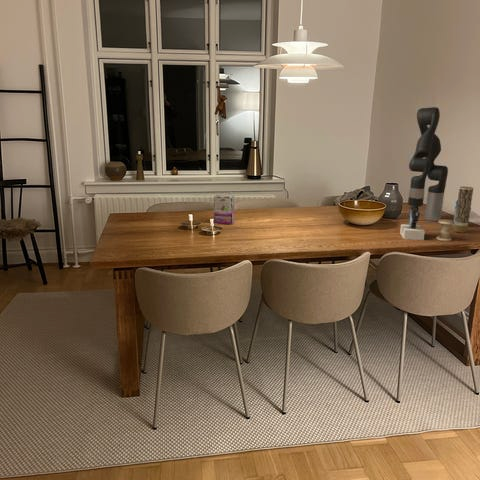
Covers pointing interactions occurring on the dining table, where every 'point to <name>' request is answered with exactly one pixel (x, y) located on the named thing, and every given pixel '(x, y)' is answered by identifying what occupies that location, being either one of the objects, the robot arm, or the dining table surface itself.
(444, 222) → the bobbin
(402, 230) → the notched board
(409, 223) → the tab peg
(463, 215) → the bark textured pillar
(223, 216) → the candy bar box
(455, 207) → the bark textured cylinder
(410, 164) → the robot arm
